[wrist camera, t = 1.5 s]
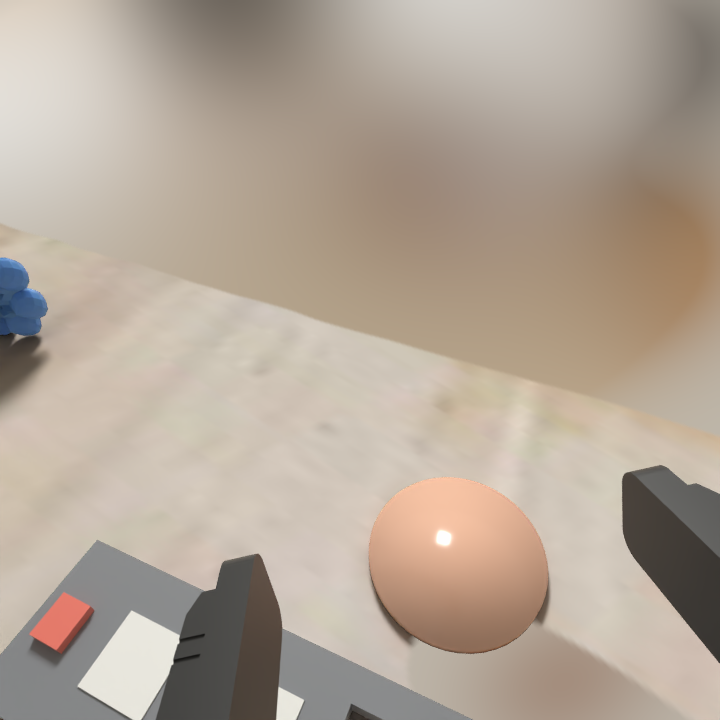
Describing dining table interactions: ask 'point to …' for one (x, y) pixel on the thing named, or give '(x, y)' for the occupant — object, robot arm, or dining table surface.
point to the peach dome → (458, 565)
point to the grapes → (19, 301)
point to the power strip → (163, 655)
